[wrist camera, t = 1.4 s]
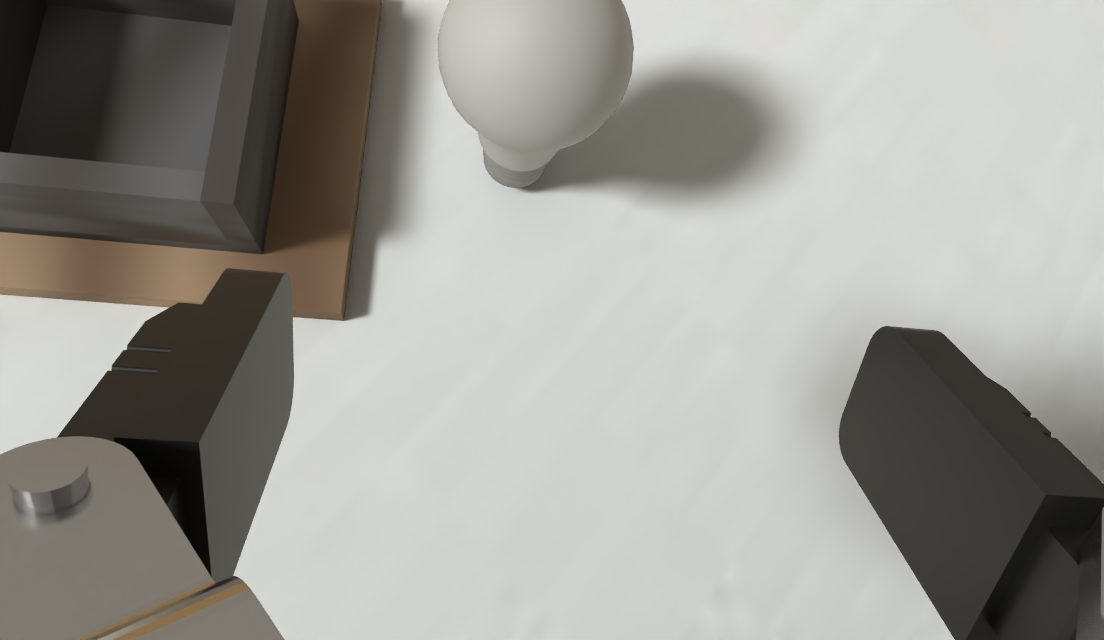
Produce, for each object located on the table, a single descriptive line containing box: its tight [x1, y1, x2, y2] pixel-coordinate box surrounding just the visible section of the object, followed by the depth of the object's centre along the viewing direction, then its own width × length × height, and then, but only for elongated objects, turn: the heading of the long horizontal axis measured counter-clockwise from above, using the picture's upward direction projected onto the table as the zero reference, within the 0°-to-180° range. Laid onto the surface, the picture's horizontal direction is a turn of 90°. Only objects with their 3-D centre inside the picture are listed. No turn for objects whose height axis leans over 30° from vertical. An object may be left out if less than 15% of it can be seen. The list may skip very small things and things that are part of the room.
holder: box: [0, 0, 382, 321], centre depth 28 cm, size 16×14×6 cm
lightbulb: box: [438, 0, 634, 188], centre depth 27 cm, size 6×6×11 cm
